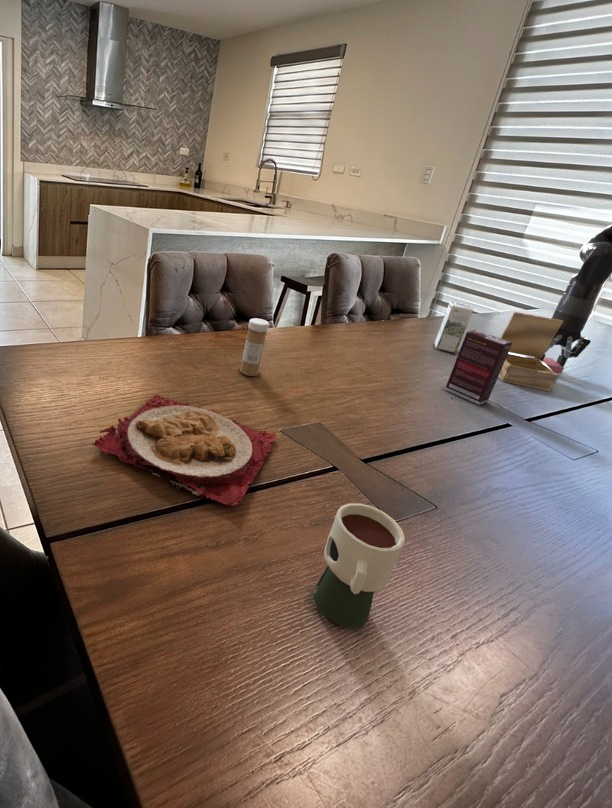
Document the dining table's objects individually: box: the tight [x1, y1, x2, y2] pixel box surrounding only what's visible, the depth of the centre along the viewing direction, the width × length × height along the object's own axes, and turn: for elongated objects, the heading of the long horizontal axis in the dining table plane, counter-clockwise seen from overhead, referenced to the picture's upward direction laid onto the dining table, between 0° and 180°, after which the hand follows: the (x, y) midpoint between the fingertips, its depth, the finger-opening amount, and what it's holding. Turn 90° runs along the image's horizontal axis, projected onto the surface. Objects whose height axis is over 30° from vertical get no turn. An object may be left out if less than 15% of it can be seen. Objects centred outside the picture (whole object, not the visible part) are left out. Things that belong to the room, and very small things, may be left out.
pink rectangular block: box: [543, 356, 565, 375], centre depth 139 cm, size 8×4×2 cm, turn 163°
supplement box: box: [444, 329, 513, 406], centre depth 113 cm, size 9×5×16 cm, turn 34°
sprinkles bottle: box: [239, 317, 270, 377], centre depth 112 cm, size 5×5×14 cm
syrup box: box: [434, 300, 474, 354], centre depth 144 cm, size 6×6×14 cm
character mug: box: [313, 502, 406, 629], centre depth 54 cm, size 11×7×13 cm, turn 155°
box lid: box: [500, 311, 563, 358], centre depth 131 cm, size 12×12×1 cm
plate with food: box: [91, 394, 277, 507], centre depth 83 cm, size 24×26×3 cm
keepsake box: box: [498, 352, 559, 392], centre depth 131 cm, size 12×12×5 cm
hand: (547, 365), depth 139 cm, fingers closed on pink rectangular block, 4 cm apart
